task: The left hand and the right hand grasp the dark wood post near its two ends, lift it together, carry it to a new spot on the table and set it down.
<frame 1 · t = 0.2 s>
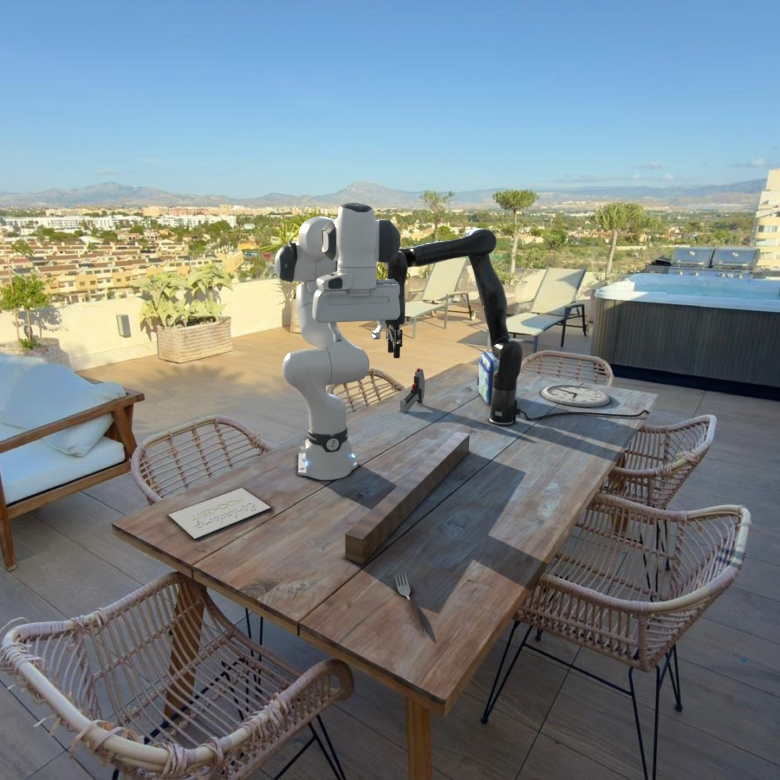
left hand: (357, 340, 122), 48 cm above the table, tool pointing down, fingers open, 8 cm apart
right hand: (393, 355, 187), 29 cm above the table, tool pointing down, fingers open, 8 cm apart
invitation card: (220, 512, 138), on the table
lunch box: (491, 399, 234), on the table
toy gun: (412, 407, 221), on the table
fork: (410, 606, 105), on the table
wall clock: (575, 396, 240), on the table
post: (419, 494, 149), on the table
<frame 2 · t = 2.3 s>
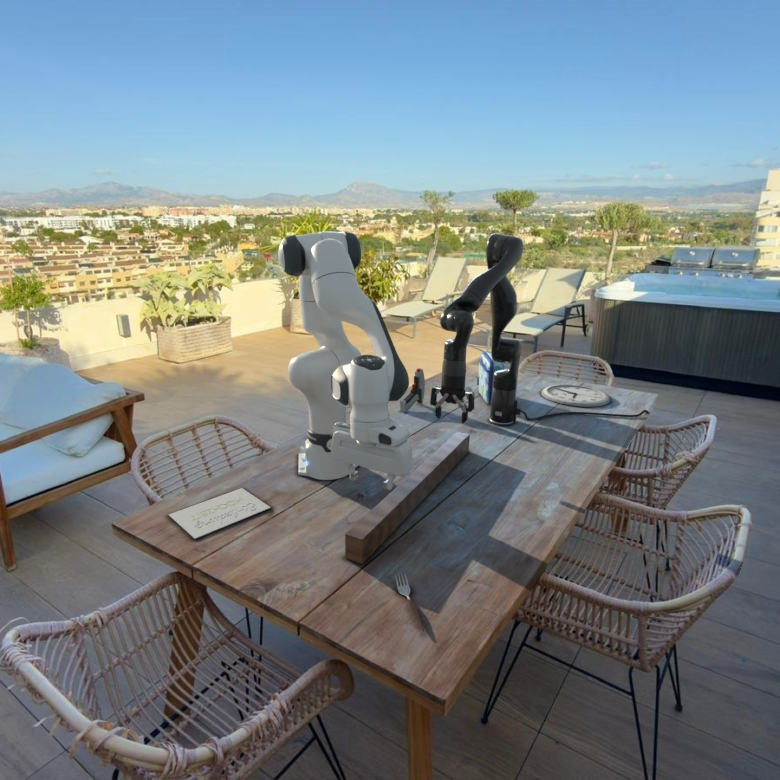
left hand: (370, 483, 121), 16 cm above the table, tool pointing down, fingers open, 8 cm apart
right hand: (451, 420, 170), 13 cm above the table, tool pointing down, fingers open, 8 cm apart
nothing on the table moved.
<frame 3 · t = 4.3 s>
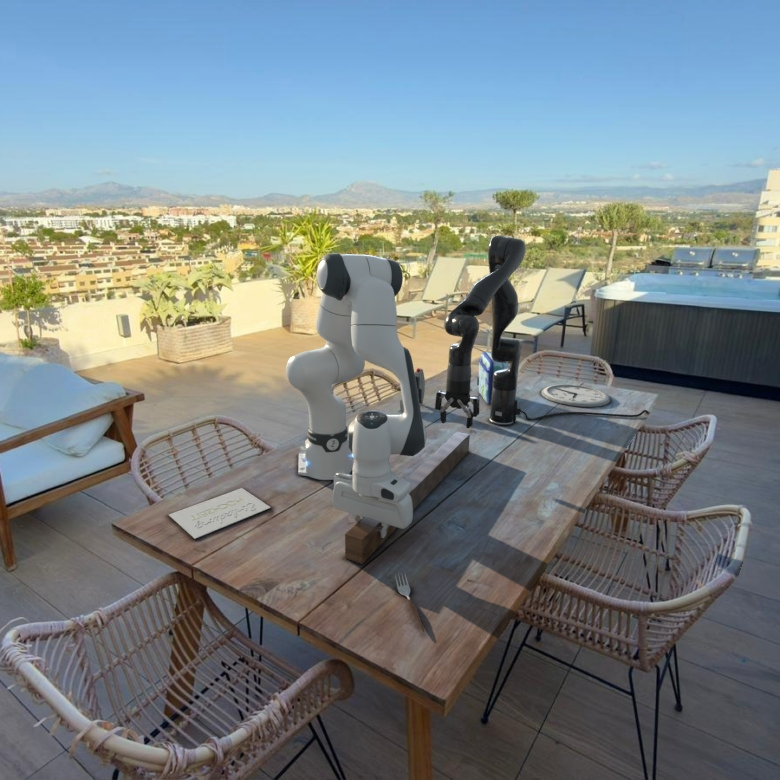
left hand: (371, 532, 125), 3 cm above the table, tool pointing down, fingers closed on post, 4 cm apart
right hand: (455, 425, 169), 12 cm above the table, tool pointing down, fingers open, 8 cm apart
post: (419, 494, 149), on the table, touching left hand
everything else where it was.
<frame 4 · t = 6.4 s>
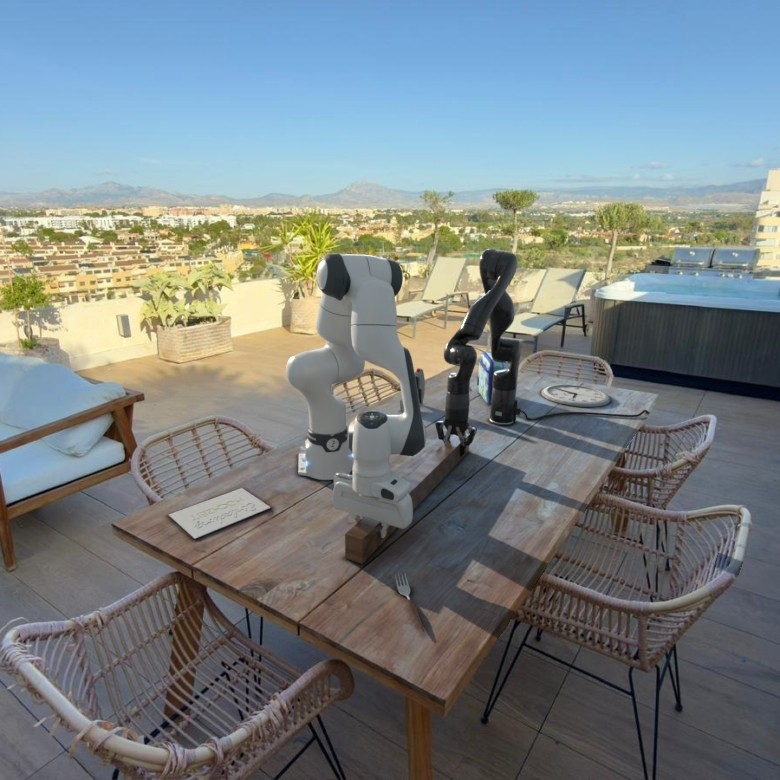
left hand: (371, 532, 125), 3 cm above the table, tool pointing down, fingers closed on post, 4 cm apart
right hand: (454, 453, 172), 2 cm above the table, tool pointing down, fingers closed on post, 4 cm apart
post: (419, 494, 149), on the table, touching right hand, left hand
everything else where it was.
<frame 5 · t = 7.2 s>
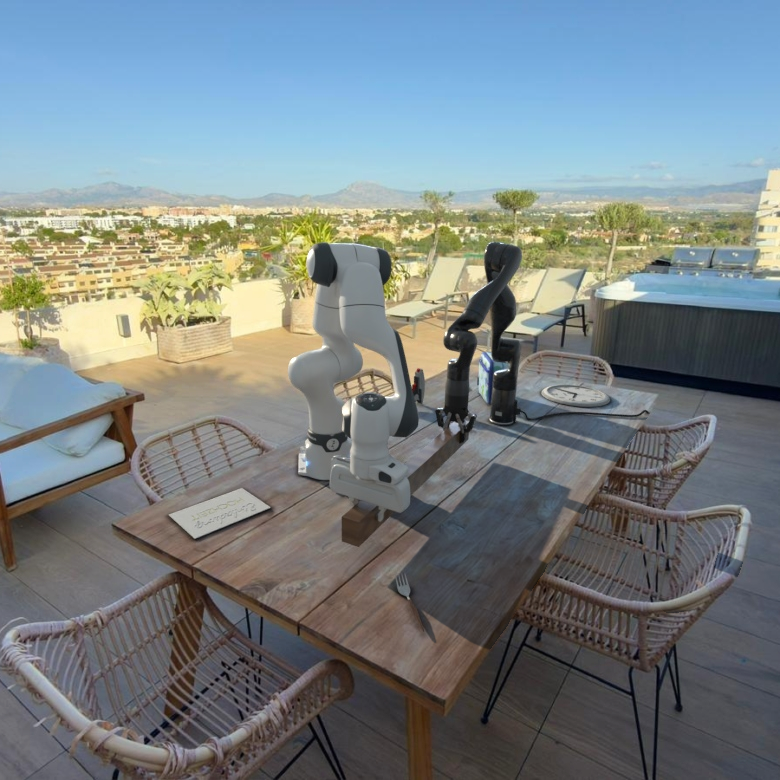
left hand: (368, 516, 124), 7 cm above the table, tool pointing down, fingers closed on post, 4 cm apart
right hand: (454, 440, 171), 6 cm above the table, tool pointing down, fingers closed on post, 4 cm apart
post: (417, 480, 148), point 4 cm above the table, touching right hand, left hand
everything else where it was.
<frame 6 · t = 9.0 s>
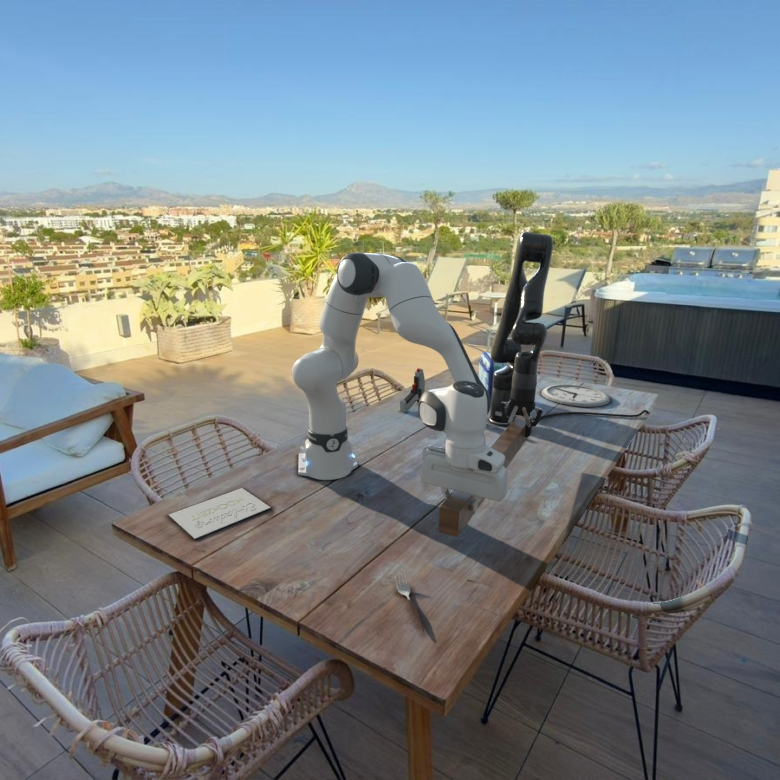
left hand: (461, 507, 122), 11 cm above the table, tool pointing down, fingers closed on post, 4 cm apart
right hand: (519, 434, 170), 9 cm above the table, tool pointing down, fingers closed on post, 4 cm apart
post: (493, 473, 147), point 7 cm above the table, touching right hand, left hand
everything else where it was.
when the left hand's fingers open (4 cm above the table, at t = 10.5 s): post stays where it is, on the table.
when the right hand's fingers open (3 cm above the table, at t = 10.5 s): post stays where it is, on the table.
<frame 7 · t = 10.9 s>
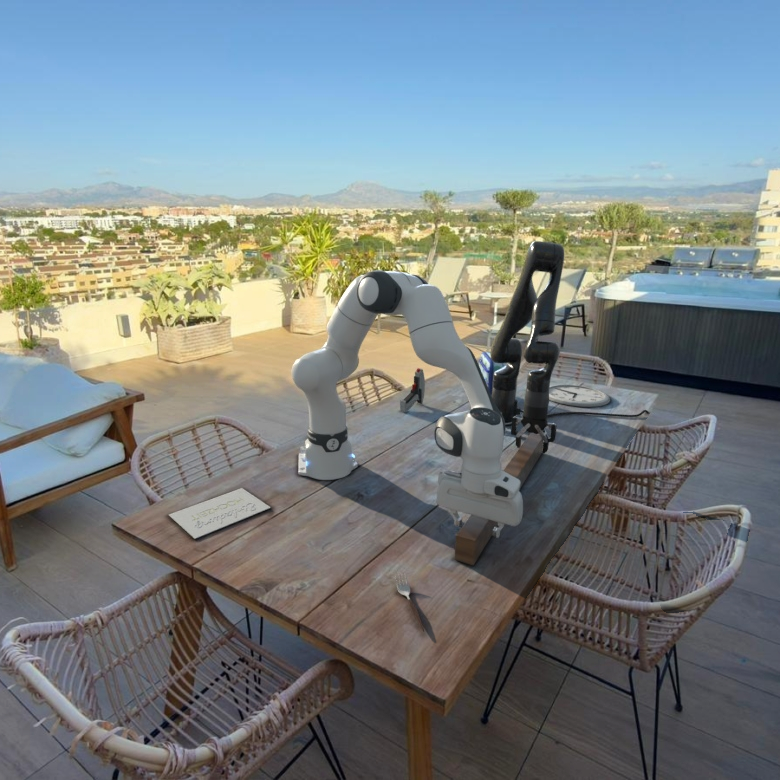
left hand: (476, 530, 124), 4 cm above the table, tool pointing down, fingers open, 8 cm apart
right hand: (531, 449, 172), 4 cm above the table, tool pointing down, fingers open, 8 cm apart
post: (506, 495, 150), on the table
everything else where it was.
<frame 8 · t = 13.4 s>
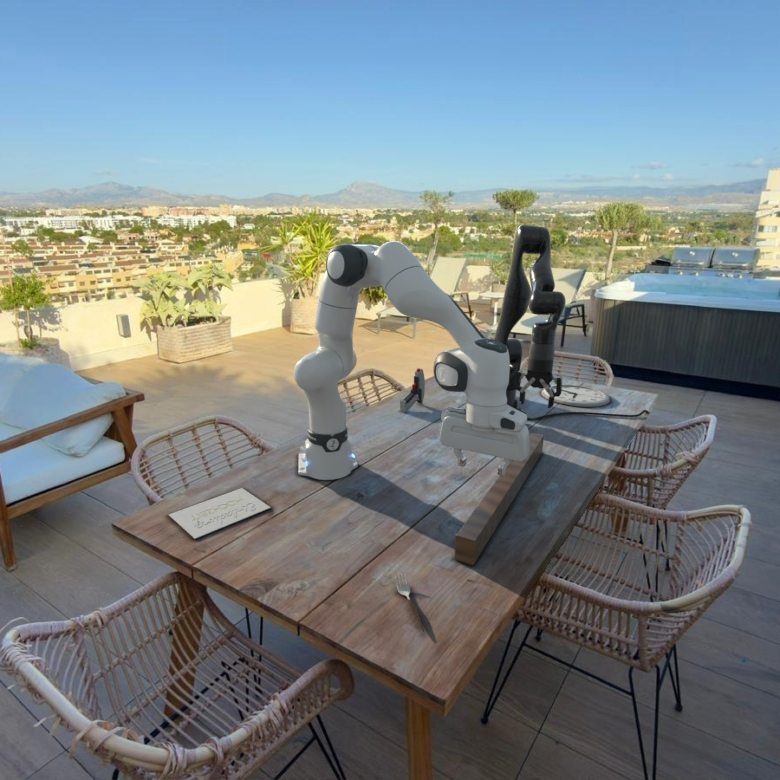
left hand: (481, 469, 120), 20 cm above the table, tool pointing down, fingers open, 8 cm apart
right hand: (536, 405, 167), 19 cm above the table, tool pointing down, fingers open, 8 cm apart
nothing on the table moved.
at the end: post inside the target area (0.4 cm from its centre), on the table; post tilted 0°; post never tilted more than 1° during the clip; both hands held the post at the same time; the left hand is holding nothing; the right hand is holding nothing; post at rest at the end (0.0 cm/s) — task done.
